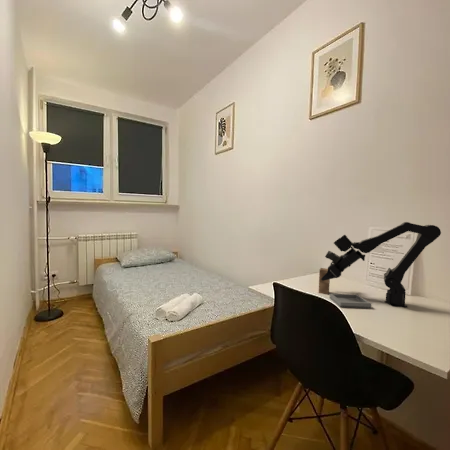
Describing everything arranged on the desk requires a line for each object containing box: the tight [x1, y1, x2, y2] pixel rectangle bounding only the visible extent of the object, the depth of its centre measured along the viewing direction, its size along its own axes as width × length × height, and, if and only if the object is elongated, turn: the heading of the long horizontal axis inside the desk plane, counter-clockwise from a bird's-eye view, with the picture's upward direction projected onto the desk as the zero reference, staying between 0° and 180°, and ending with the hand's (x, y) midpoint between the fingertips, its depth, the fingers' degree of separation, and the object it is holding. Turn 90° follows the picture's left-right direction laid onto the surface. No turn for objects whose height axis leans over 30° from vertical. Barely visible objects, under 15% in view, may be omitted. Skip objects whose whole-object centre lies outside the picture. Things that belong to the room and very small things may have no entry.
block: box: [318, 267, 331, 295], centre depth 128 cm, size 4×4×12 cm
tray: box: [329, 293, 372, 309], centre depth 113 cm, size 13×12×2 cm
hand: (323, 277), depth 128 cm, fingers open, 9 cm apart
